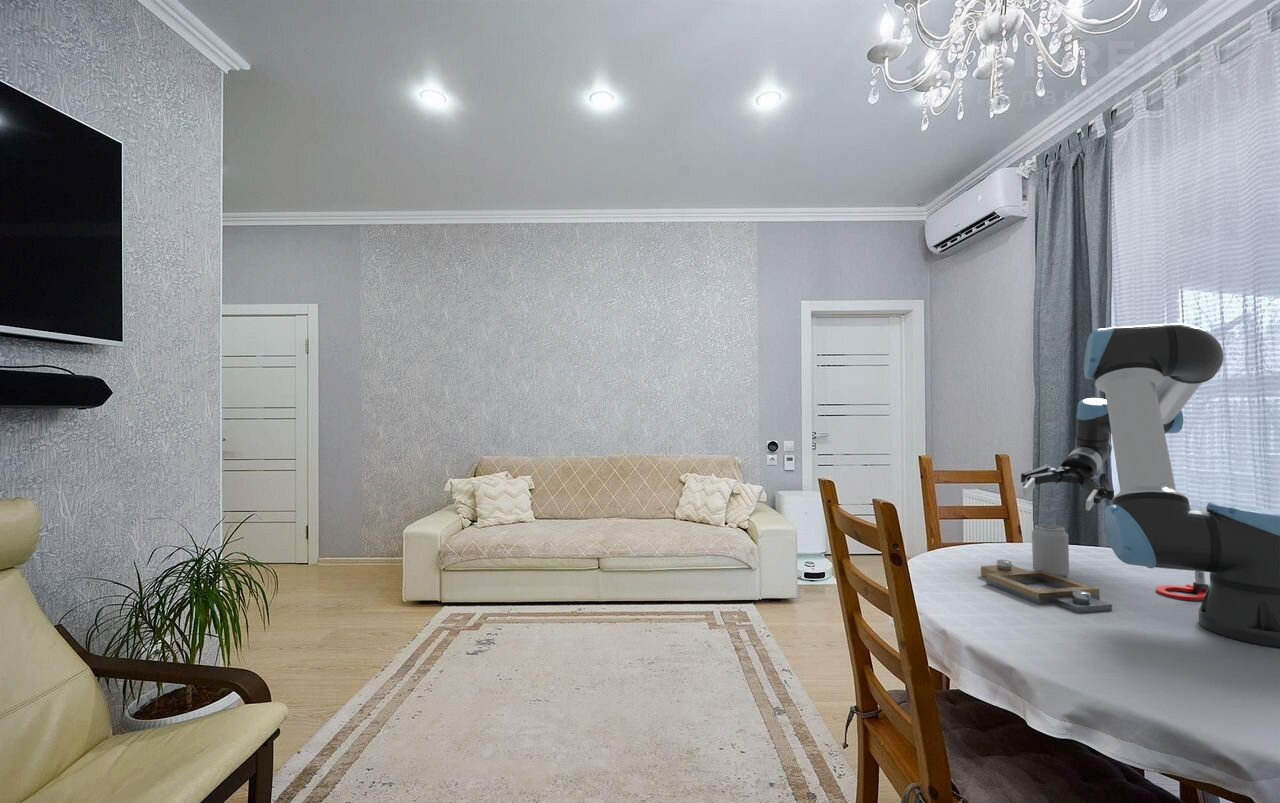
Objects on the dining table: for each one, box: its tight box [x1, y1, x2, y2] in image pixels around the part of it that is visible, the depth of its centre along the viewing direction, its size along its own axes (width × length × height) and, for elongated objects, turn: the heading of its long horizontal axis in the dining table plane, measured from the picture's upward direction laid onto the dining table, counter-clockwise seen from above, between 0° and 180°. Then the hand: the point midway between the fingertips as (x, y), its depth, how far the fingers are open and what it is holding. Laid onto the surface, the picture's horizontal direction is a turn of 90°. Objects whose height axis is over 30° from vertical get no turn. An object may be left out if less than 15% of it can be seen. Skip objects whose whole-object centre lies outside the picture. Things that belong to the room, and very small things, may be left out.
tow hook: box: [1155, 571, 1210, 602], centre depth 128 cm, size 8×13×9 cm
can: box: [1031, 524, 1070, 578], centre depth 145 cm, size 8×8×12 cm
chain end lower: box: [985, 578, 1113, 614], centre depth 129 cm, size 21×15×3 cm
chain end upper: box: [980, 559, 1100, 599], centre depth 135 cm, size 21×15×4 cm
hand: (1054, 498), depth 146 cm, fingers open, 13 cm apart
